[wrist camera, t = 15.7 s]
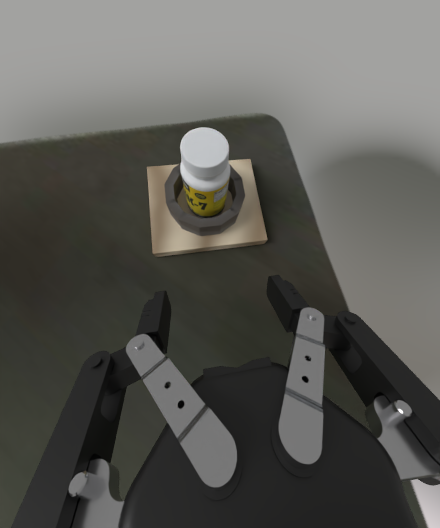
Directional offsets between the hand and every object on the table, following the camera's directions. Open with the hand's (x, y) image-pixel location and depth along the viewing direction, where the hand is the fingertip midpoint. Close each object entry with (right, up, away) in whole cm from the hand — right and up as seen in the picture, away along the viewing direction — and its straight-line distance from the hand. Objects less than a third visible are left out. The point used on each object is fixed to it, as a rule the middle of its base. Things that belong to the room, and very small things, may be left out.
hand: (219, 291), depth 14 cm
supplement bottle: (-2, +10, +9) cm, 13 cm away
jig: (-2, +10, +10) cm, 14 cm away
